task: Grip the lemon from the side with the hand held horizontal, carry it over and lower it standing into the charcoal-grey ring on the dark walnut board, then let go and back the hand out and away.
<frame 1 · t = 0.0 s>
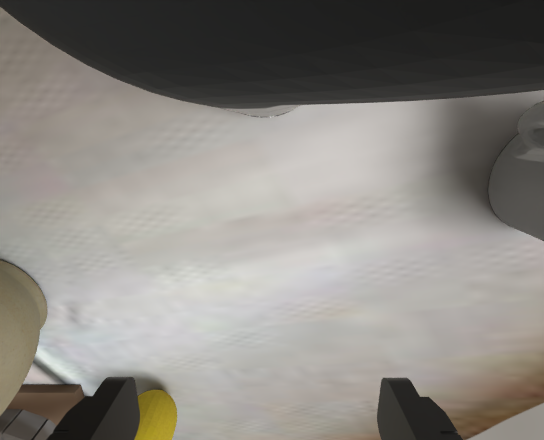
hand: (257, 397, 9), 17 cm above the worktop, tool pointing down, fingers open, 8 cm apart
coffee mug: (537, 159, 24), on the worktop
lemon: (162, 389, 32), on the worktop
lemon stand: (30, 433, 35), on the worktop
planter bowl: (1, 297, 28), on the worktop
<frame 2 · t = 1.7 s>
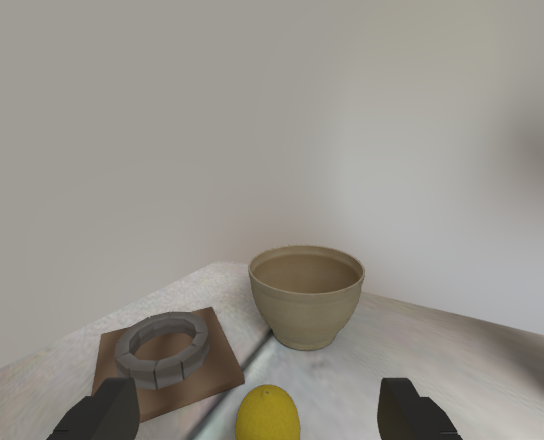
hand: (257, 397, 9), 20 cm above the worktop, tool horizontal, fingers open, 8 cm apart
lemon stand: (166, 359, 37), on the worktop
planter bowl: (303, 330, 43), on the worktop
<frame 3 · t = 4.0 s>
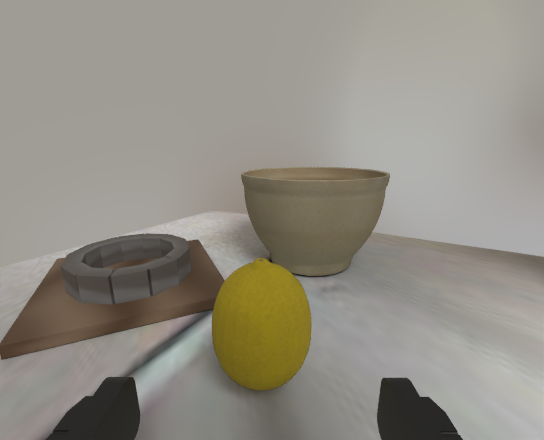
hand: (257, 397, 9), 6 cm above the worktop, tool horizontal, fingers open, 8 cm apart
lemon: (262, 385, 17), on the worktop
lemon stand: (134, 283, 29), on the worktop
planter bowl: (309, 261, 35), on the worktop
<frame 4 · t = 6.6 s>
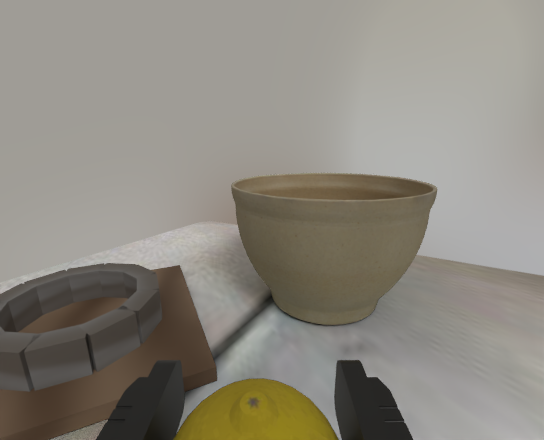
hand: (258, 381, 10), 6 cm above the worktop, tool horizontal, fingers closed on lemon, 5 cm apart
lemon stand: (83, 338, 21), on the worktop
planter bowl: (321, 297, 27), on the worktop
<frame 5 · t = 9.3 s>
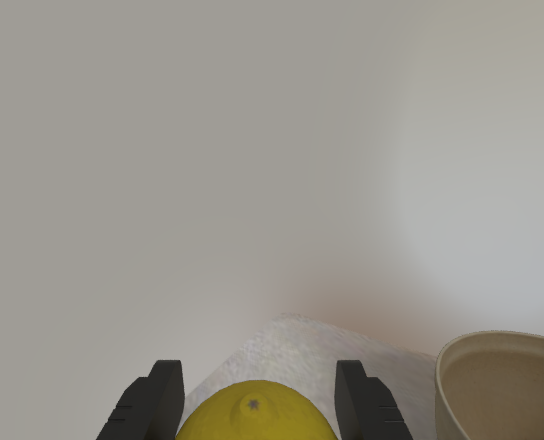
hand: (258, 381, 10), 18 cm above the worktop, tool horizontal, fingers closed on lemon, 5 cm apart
when the fingers open (8 cm above the worktop, at t = 12.0 s): lemon drops 1 cm, resting on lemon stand.
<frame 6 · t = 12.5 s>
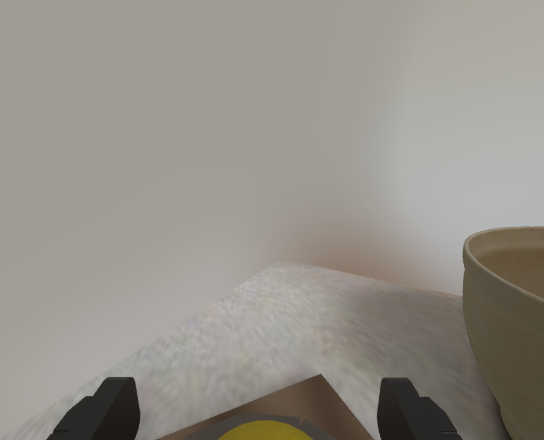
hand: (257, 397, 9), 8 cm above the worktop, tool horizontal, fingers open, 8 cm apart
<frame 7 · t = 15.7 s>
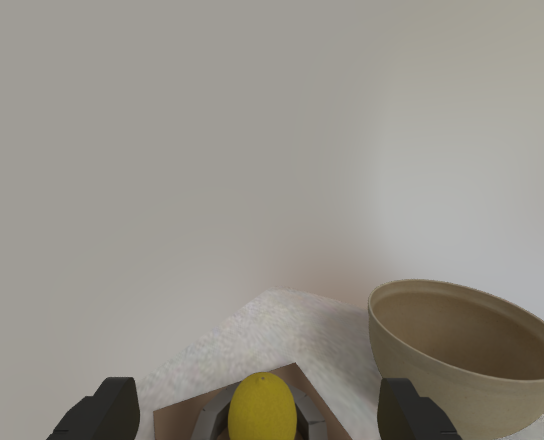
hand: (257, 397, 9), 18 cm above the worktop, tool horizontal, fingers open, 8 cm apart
planter bowl: (436, 406, 30), on the worktop
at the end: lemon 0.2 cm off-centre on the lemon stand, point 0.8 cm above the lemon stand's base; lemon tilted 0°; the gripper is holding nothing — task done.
